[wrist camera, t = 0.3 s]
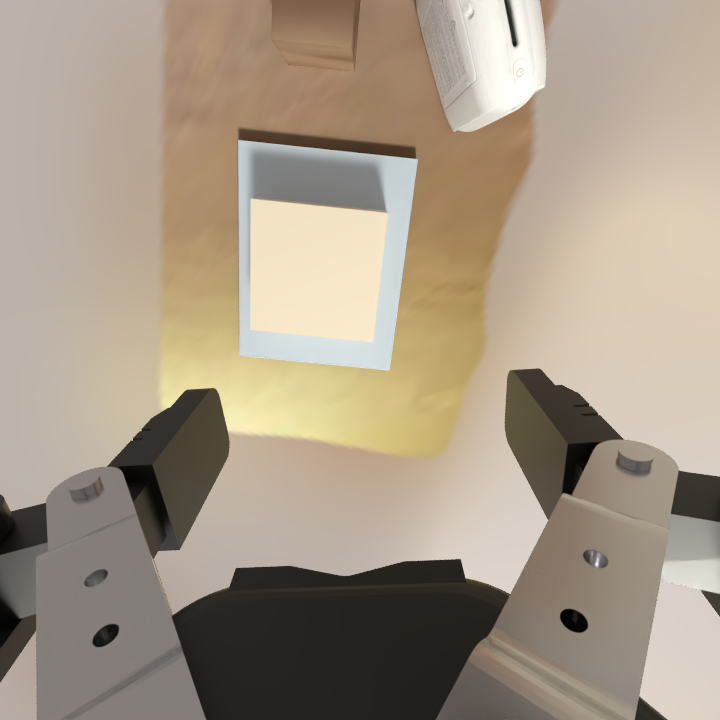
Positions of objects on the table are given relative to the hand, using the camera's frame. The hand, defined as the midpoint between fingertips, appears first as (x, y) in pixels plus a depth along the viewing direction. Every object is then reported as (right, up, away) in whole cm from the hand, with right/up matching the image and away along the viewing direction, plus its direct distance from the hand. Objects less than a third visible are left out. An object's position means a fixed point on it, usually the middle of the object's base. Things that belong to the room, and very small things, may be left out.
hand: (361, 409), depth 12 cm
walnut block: (-3, +26, +19) cm, 32 cm away
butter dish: (-3, +10, +26) cm, 28 cm away
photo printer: (+7, +24, +20) cm, 32 cm away
